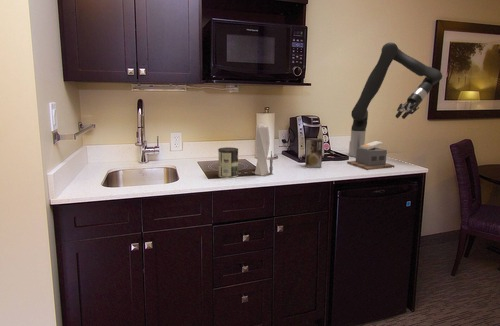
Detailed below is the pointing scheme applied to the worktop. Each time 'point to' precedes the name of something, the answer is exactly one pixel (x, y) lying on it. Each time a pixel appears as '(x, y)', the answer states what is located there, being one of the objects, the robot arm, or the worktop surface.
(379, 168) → the base board
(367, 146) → the rocker
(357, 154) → the switch block
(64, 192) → the worktop surface
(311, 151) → the coffee box
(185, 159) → the worktop surface
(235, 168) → the coffee can
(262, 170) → the skyscraper
